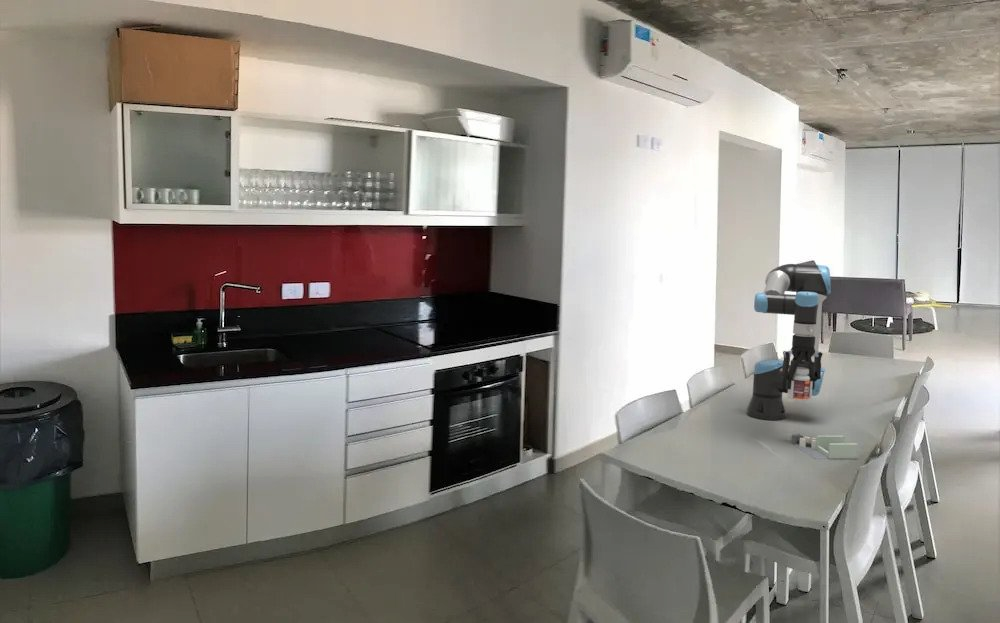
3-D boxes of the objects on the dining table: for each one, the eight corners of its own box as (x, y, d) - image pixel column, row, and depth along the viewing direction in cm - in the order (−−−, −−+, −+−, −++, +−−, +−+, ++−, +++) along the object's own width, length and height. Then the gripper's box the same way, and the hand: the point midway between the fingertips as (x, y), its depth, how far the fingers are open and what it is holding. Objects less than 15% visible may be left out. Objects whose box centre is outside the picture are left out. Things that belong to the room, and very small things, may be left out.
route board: (789, 444, 267) (790, 433, 266) (829, 444, 268) (830, 433, 267) (814, 462, 248) (815, 450, 248) (857, 462, 249) (858, 450, 249)
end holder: (815, 449, 258) (816, 435, 257) (841, 449, 259) (843, 435, 258) (829, 458, 249) (830, 444, 248) (856, 458, 249) (857, 444, 248)
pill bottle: (807, 402, 260) (809, 370, 259) (788, 399, 263) (791, 368, 262) (809, 398, 265) (811, 368, 264) (791, 396, 268) (793, 366, 267)
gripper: (782, 336, 257) (777, 400, 260) (835, 337, 258) (830, 400, 261) (773, 332, 264) (769, 395, 267) (824, 333, 265) (820, 396, 268)
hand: (799, 398), depth 264 cm, fingers closed on pill bottle, 6 cm apart
